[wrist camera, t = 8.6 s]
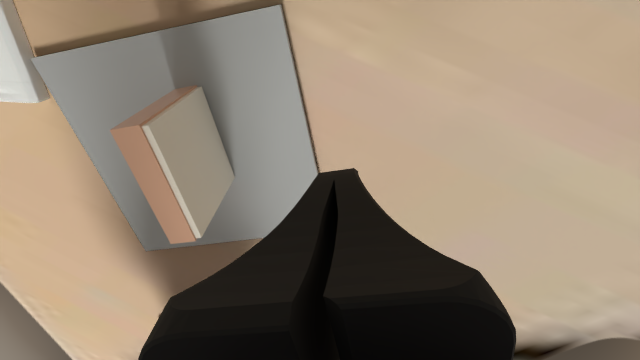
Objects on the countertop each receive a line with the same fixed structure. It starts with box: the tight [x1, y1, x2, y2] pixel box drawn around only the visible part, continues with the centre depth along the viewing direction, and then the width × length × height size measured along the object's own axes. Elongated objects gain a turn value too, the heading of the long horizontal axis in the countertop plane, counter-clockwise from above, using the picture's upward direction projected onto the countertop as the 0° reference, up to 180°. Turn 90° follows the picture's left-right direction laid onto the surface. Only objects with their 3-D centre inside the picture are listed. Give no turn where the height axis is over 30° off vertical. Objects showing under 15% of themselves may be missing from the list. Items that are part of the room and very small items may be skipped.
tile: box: [110, 85, 235, 244], centre depth 17 cm, size 6×2×6 cm, turn 11°
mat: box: [30, 4, 318, 251], centre depth 20 cm, size 14×14×1 cm
